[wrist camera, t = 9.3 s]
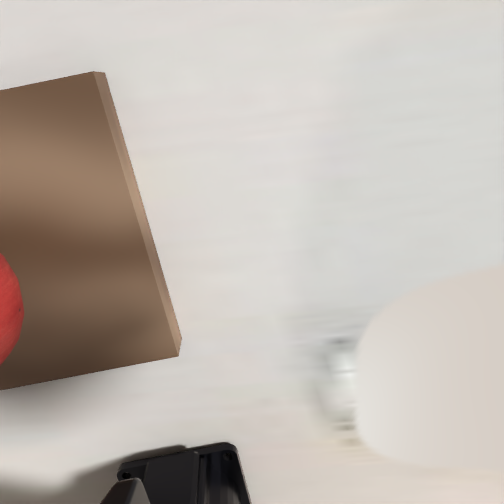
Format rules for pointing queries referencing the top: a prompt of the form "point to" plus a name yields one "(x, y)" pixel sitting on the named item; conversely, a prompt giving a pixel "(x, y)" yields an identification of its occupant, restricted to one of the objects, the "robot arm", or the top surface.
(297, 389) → the top surface
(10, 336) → the onion
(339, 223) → the top surface
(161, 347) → the walnut board
